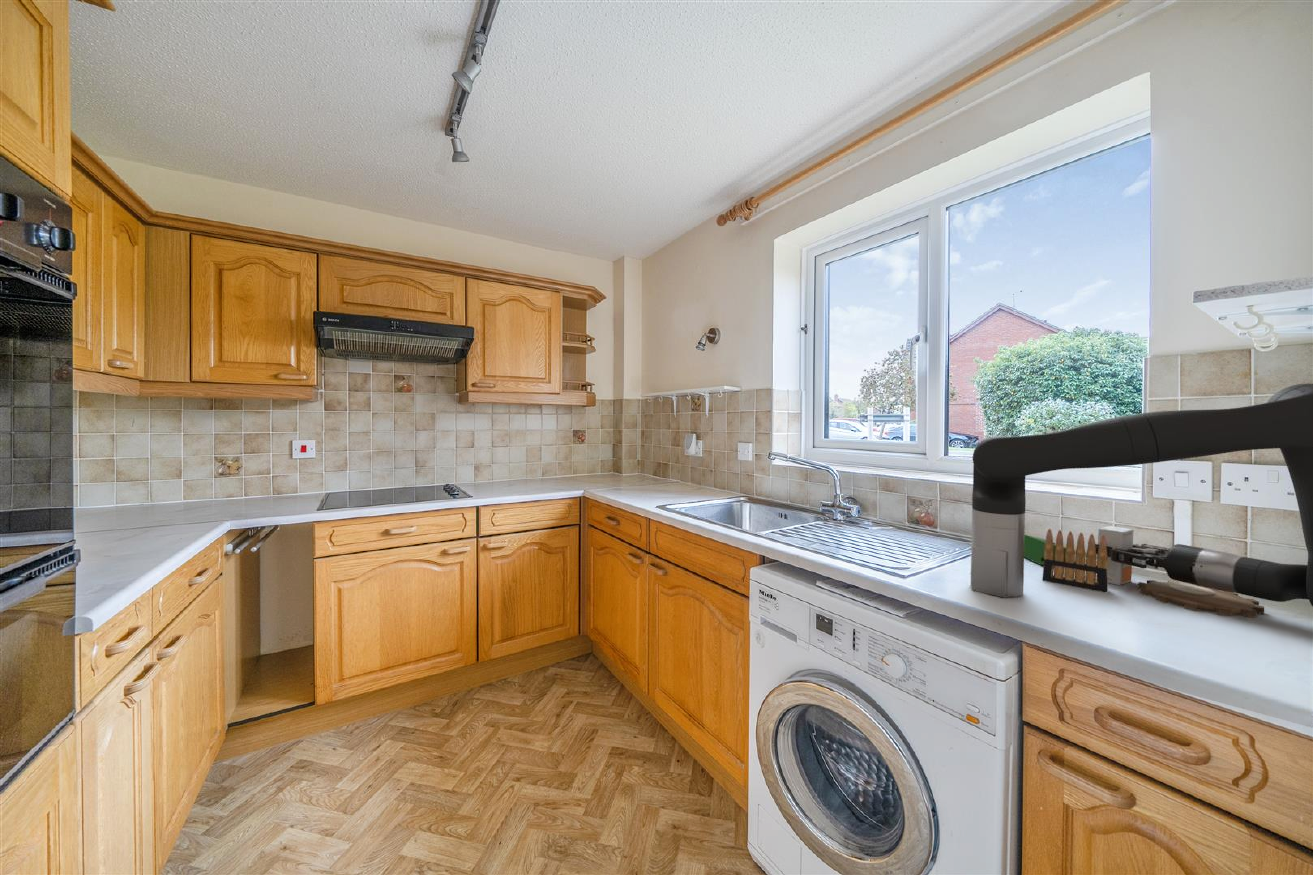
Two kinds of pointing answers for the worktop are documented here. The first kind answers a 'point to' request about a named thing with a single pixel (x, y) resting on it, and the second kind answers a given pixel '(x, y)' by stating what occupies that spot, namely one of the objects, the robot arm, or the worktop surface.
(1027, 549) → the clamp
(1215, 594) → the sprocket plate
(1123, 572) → the skincare box
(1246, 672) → the worktop surface
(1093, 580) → the ammunition clip
